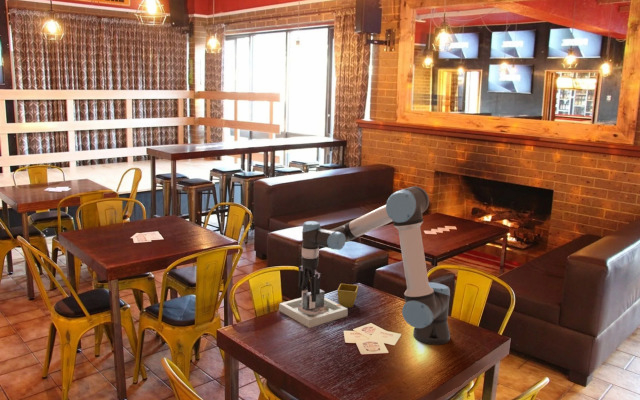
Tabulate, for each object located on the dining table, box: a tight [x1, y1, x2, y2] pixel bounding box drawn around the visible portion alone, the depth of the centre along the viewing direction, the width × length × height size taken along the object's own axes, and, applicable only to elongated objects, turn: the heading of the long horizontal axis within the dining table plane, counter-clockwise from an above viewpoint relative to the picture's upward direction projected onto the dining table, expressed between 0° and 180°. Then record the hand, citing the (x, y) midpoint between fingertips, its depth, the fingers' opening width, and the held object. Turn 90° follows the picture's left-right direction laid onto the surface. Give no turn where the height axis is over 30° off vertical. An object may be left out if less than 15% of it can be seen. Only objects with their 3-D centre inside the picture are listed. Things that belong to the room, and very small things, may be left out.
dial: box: [298, 288, 329, 317], centre depth 256 cm, size 14×14×8 cm
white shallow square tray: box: [278, 296, 349, 329], centre depth 257 cm, size 22×22×4 cm
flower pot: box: [337, 283, 359, 309], centre depth 267 cm, size 9×9×9 cm
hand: (308, 305), depth 254 cm, fingers open, 5 cm apart
